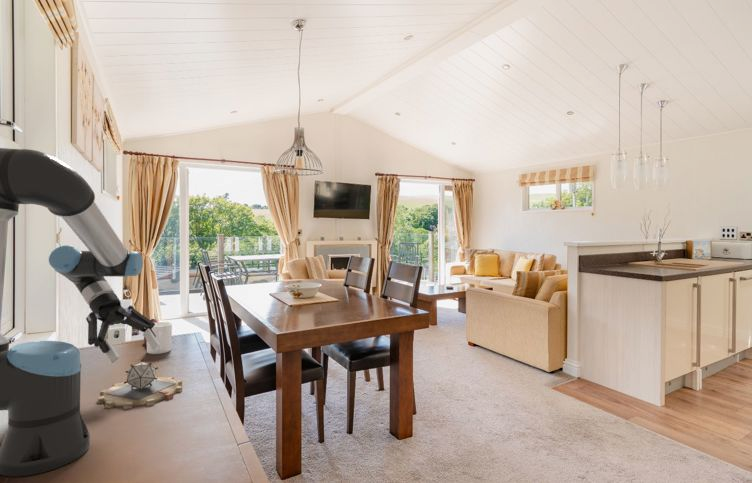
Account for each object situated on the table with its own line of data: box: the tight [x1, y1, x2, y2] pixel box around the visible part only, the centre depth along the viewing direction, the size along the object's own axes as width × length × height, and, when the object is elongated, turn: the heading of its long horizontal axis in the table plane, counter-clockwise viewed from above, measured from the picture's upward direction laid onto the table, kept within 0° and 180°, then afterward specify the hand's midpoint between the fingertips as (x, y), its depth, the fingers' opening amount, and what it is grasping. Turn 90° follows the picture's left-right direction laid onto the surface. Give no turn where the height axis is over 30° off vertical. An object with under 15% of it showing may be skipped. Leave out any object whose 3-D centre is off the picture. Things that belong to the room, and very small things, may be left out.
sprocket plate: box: [97, 375, 183, 410], centre depth 118 cm, size 21×21×1 cm
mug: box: [146, 321, 173, 355], centre depth 157 cm, size 9×12×11 cm
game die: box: [122, 358, 159, 392], centre depth 117 cm, size 9×8×10 cm
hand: (137, 353), depth 119 cm, fingers open, 13 cm apart
